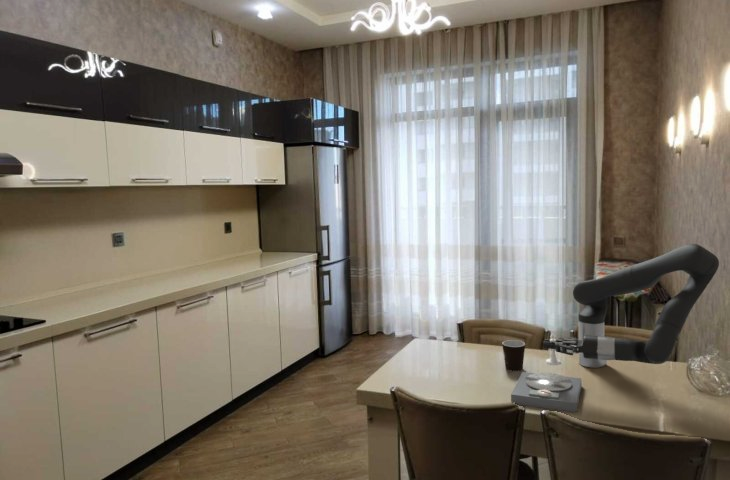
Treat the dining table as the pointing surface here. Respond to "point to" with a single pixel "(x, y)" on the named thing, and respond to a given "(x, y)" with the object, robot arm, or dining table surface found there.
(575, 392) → the kitchen scale
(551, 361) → the chess piece
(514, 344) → the coffee mug
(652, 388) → the dining table surface
